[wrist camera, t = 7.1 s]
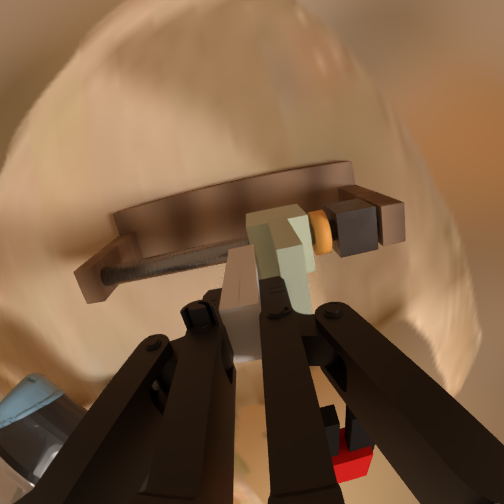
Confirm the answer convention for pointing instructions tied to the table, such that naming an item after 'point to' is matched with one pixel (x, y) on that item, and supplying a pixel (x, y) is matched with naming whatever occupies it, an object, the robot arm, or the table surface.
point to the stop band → (321, 232)
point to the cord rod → (338, 214)
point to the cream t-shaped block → (284, 250)
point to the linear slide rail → (230, 216)
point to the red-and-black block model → (347, 444)
